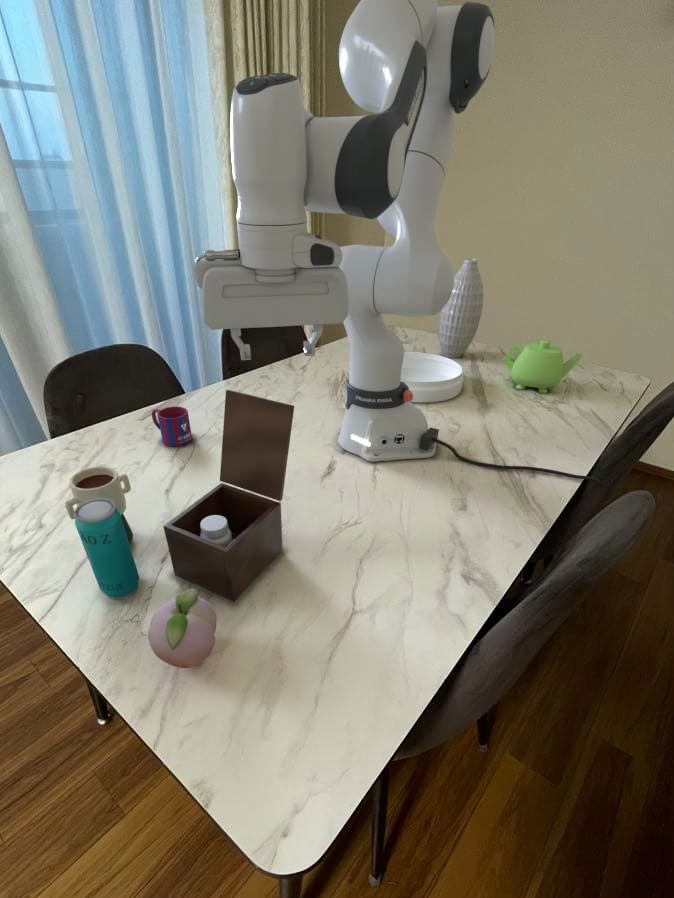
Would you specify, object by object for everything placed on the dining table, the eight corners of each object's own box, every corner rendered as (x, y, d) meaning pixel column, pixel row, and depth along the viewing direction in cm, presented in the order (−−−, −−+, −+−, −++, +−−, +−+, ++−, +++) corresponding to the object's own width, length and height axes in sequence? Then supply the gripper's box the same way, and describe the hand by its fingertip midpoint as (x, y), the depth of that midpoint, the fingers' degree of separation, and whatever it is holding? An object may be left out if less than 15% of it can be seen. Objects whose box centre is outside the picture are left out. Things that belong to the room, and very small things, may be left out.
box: (233, 602, 70) (227, 552, 63) (174, 575, 74) (163, 525, 68) (282, 551, 79) (281, 502, 73) (227, 529, 83) (221, 482, 77)
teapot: (569, 383, 140) (585, 339, 132) (569, 399, 131) (586, 353, 123) (499, 373, 146) (510, 330, 138) (494, 388, 136) (506, 343, 128)
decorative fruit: (162, 631, 65) (147, 579, 59) (222, 627, 66) (213, 575, 60) (151, 689, 58) (133, 638, 52) (218, 684, 59) (208, 633, 52)
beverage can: (107, 577, 74) (78, 497, 64) (144, 575, 74) (121, 496, 64) (97, 604, 69) (65, 523, 60) (137, 602, 70) (111, 521, 60)
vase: (434, 359, 155) (451, 262, 138) (432, 348, 165) (448, 255, 147) (473, 362, 154) (495, 264, 136) (469, 350, 164) (490, 257, 146)
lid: (291, 406, 66) (294, 405, 67) (225, 389, 70) (229, 389, 71) (279, 501, 72) (282, 499, 73) (219, 480, 76) (222, 479, 77)
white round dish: (447, 368, 149) (450, 351, 146) (473, 402, 128) (478, 383, 125) (362, 368, 148) (364, 351, 145) (375, 403, 127) (377, 383, 124)
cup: (175, 449, 106) (170, 421, 102) (148, 436, 111) (141, 409, 106) (198, 438, 110) (193, 411, 106) (170, 427, 115) (165, 400, 111)
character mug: (129, 520, 85) (110, 456, 77) (154, 535, 82) (137, 470, 74) (74, 550, 78) (47, 484, 70) (98, 568, 75) (73, 501, 67)
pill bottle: (239, 558, 76) (235, 516, 71) (227, 577, 73) (221, 535, 67) (213, 552, 77) (206, 510, 72) (199, 571, 74) (191, 529, 68)
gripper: (190, 255, 57) (206, 368, 66) (354, 250, 60) (348, 360, 69) (192, 246, 62) (206, 353, 71) (343, 242, 64) (339, 346, 73)
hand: (277, 356), depth 70 cm, fingers open, 8 cm apart
